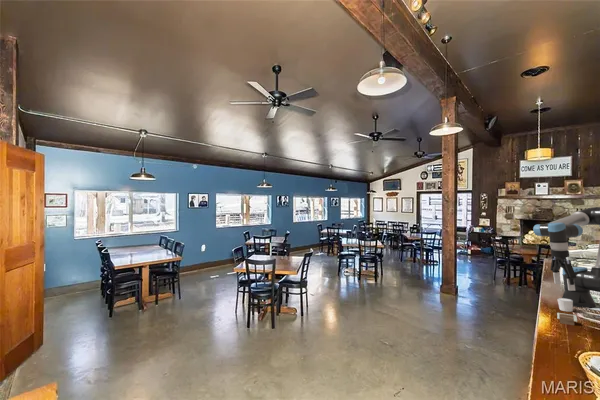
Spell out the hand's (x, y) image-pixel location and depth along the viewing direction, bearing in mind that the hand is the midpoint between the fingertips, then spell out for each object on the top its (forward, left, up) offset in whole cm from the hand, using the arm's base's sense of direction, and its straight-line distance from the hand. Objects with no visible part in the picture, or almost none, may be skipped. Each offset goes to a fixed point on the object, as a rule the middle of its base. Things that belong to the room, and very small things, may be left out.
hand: (564, 287), depth 157 cm
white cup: (-11, -7, -18) cm, 22 cm away
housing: (+9, +5, -18) cm, 20 cm away
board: (+1, 0, -18) cm, 18 cm away
